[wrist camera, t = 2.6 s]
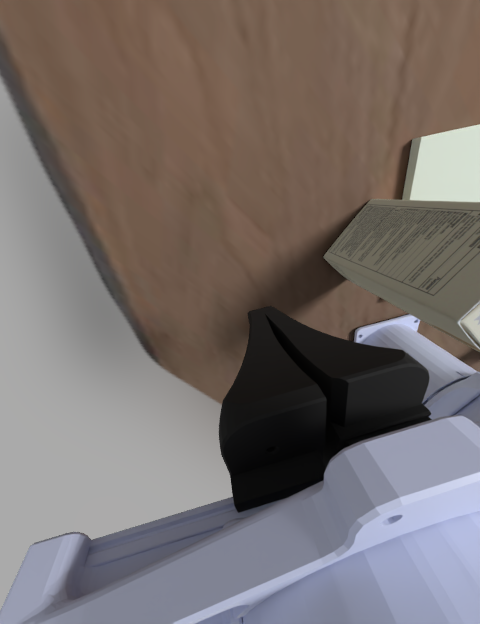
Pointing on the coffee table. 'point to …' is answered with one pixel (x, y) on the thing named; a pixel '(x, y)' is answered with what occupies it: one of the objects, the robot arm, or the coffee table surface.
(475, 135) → the mat
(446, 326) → the skincare box
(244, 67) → the coffee table surface
